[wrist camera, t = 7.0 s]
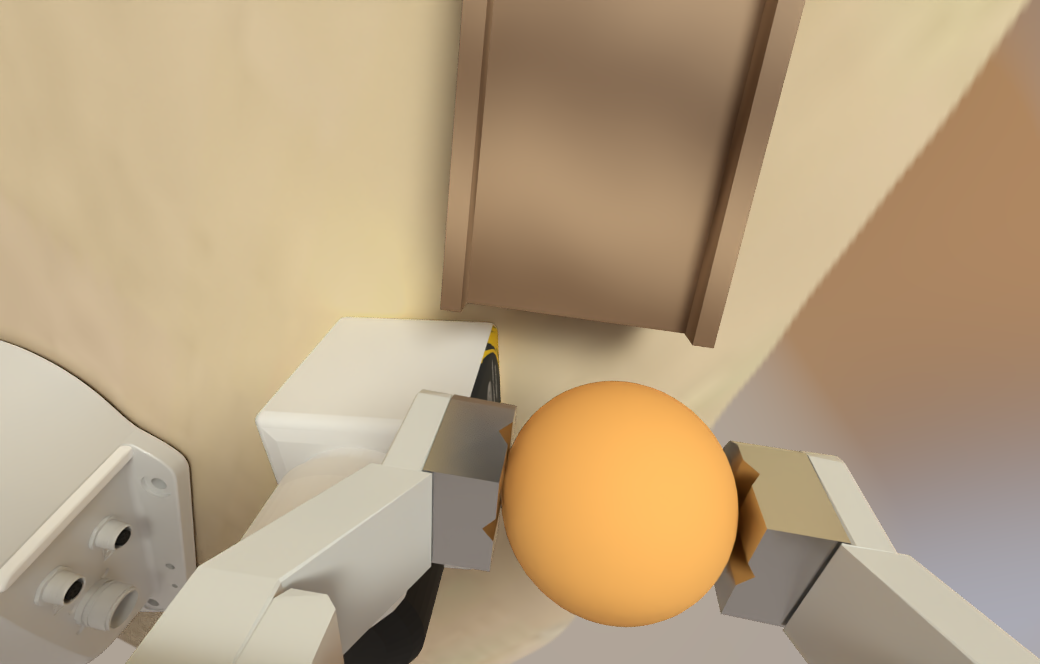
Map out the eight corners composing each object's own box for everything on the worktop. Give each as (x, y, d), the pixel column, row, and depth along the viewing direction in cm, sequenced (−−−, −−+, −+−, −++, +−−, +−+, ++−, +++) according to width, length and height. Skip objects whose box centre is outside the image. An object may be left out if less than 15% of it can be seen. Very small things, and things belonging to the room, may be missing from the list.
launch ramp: (677, 277, 20) (709, 360, 15) (476, 250, 20) (439, 321, 15) (793, -127, 14) (916, -222, 9) (500, -156, 14) (452, -266, 9)
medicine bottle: (503, 444, 25) (448, 724, 15) (366, 435, 26) (224, 696, 16) (498, 319, 22) (421, 576, 11) (339, 313, 22) (131, 549, 12)
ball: (596, 512, 10) (595, 700, 7) (479, 405, 9) (425, 575, 6) (751, 437, 8) (827, 636, 6) (632, 300, 7) (653, 459, 5)
